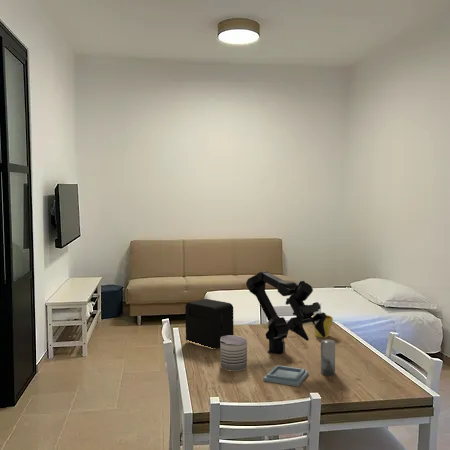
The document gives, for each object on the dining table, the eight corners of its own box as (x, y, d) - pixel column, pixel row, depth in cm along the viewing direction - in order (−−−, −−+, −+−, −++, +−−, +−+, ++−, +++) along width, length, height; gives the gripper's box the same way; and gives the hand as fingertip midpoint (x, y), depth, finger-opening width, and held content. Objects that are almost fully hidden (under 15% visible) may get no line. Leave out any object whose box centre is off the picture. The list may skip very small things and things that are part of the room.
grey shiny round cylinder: (319, 374, 194) (319, 342, 193) (322, 370, 199) (322, 338, 198) (333, 376, 191) (333, 344, 191) (336, 372, 197) (336, 340, 196)
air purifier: (235, 343, 236) (235, 302, 235) (215, 350, 226) (215, 308, 224) (206, 336, 250) (205, 297, 249) (185, 342, 239) (185, 302, 238)
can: (233, 360, 212) (233, 333, 211) (252, 366, 204) (252, 338, 203) (214, 366, 204) (214, 338, 203) (233, 373, 196) (233, 344, 195)
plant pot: (334, 338, 243) (334, 319, 243) (313, 338, 243) (313, 319, 243) (330, 332, 254) (330, 314, 253) (310, 332, 254) (310, 314, 253)
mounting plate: (263, 380, 188) (263, 375, 188) (275, 369, 200) (275, 363, 200) (298, 386, 182) (298, 380, 182) (308, 374, 194) (308, 368, 194)
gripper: (290, 298, 199) (308, 331, 190) (324, 293, 209) (342, 324, 200) (278, 314, 206) (295, 346, 197) (311, 308, 216) (329, 338, 207)
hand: (316, 338), depth 200 cm, fingers open, 9 cm apart
